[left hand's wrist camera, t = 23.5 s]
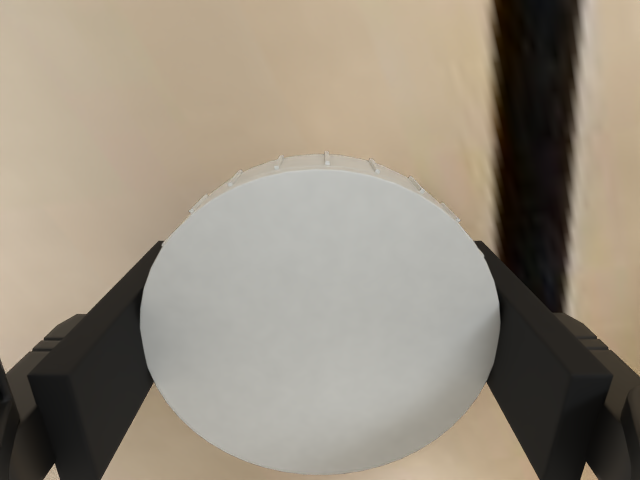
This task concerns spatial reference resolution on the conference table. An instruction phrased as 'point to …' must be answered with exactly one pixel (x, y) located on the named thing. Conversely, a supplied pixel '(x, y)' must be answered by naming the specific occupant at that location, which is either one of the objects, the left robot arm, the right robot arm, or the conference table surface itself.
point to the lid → (320, 316)
